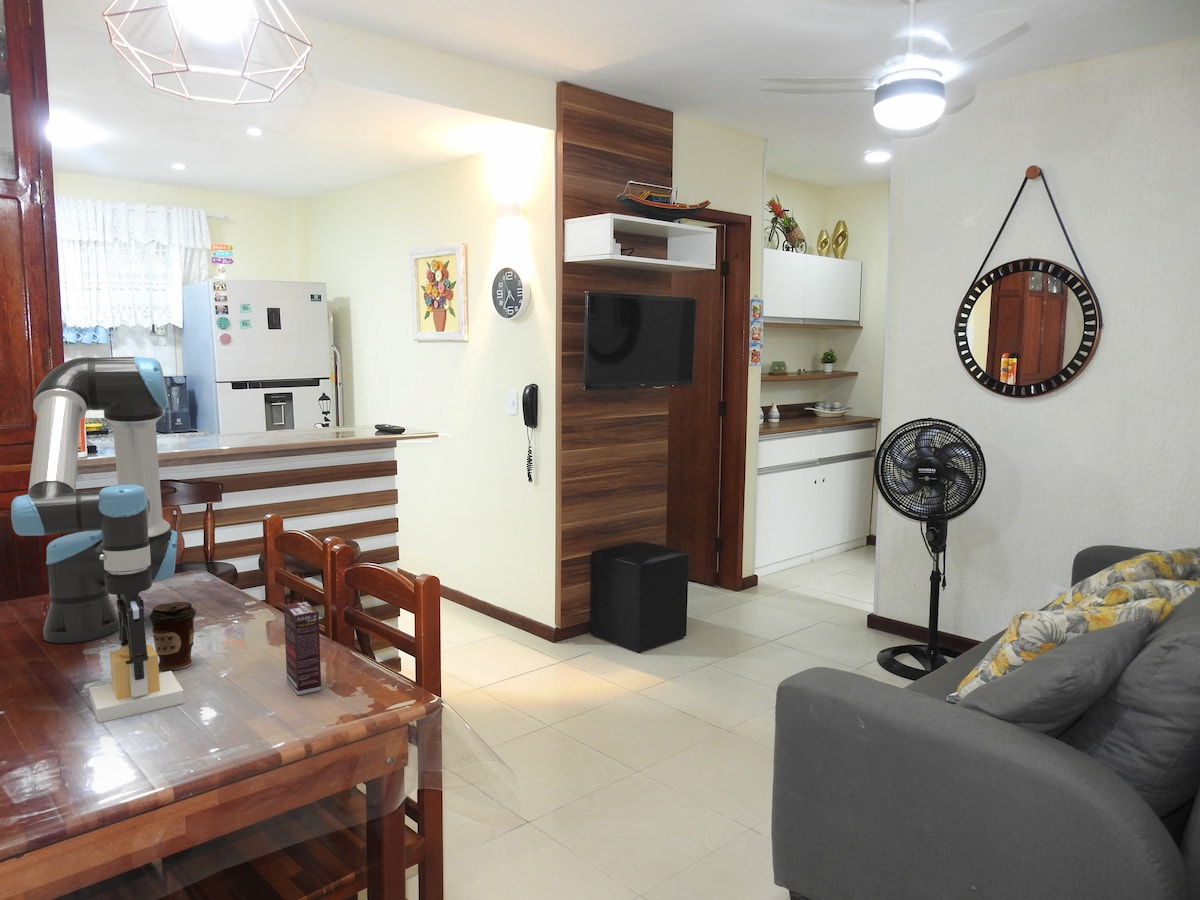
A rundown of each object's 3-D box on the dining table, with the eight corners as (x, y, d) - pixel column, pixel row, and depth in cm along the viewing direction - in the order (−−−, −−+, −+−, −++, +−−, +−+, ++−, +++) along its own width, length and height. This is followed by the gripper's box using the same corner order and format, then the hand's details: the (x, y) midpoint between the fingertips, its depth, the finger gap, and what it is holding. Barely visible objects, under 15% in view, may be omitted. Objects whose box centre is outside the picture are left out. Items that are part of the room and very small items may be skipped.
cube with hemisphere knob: (112, 687, 158) (108, 645, 157) (153, 678, 162) (150, 638, 161) (117, 700, 153) (114, 656, 152) (160, 690, 157) (157, 648, 156)
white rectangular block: (90, 700, 158) (87, 662, 157) (171, 682, 167) (169, 646, 166) (97, 723, 149) (94, 682, 148) (184, 703, 157) (181, 664, 156)
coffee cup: (178, 675, 171) (174, 613, 169) (143, 672, 172) (138, 610, 171) (206, 659, 179) (203, 600, 177) (172, 656, 181) (168, 598, 179)
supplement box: (322, 690, 163) (319, 611, 161) (297, 696, 160) (293, 616, 158) (310, 676, 170) (307, 600, 168) (285, 681, 167) (282, 604, 165)
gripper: (97, 561, 161) (105, 674, 163) (112, 585, 144) (121, 711, 147) (141, 555, 165) (148, 666, 168) (160, 578, 149) (168, 700, 151)
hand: (135, 687), depth 157 cm, fingers open, 8 cm apart
